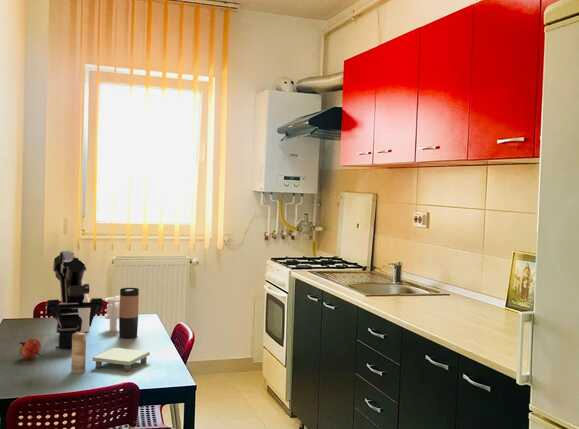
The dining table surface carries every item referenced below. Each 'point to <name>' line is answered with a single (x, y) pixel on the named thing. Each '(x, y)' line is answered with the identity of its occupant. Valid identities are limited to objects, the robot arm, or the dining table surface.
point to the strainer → (113, 312)
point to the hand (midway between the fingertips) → (76, 326)
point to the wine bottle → (84, 313)
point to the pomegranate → (30, 349)
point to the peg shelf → (121, 357)
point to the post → (78, 352)
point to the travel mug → (128, 313)
